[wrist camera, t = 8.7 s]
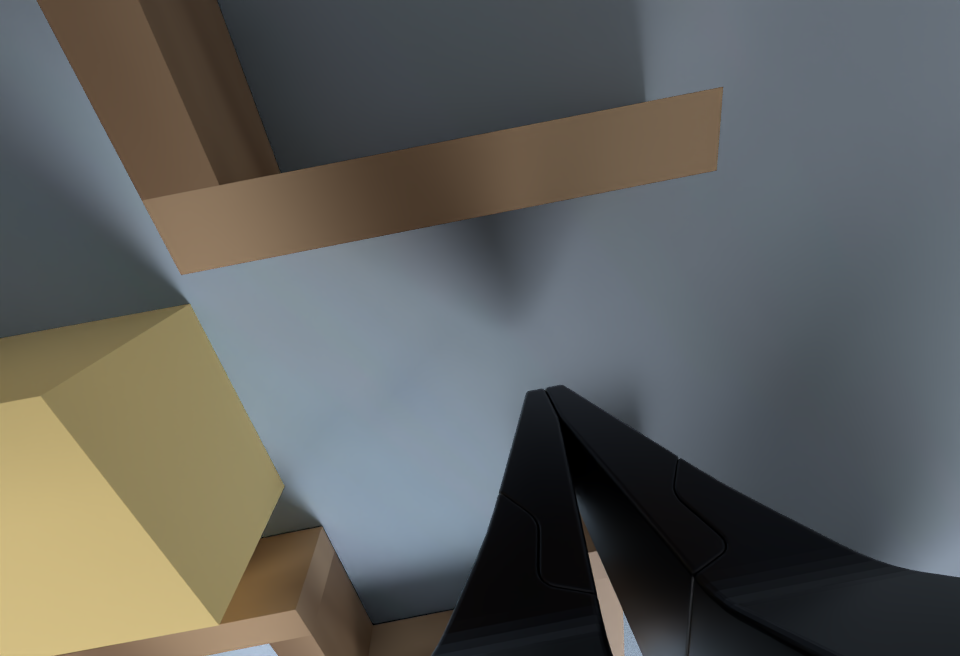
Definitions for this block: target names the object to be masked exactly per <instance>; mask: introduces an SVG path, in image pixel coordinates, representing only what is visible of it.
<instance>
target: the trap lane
mask: <svg viewBox="0 0 960 656" xmlns="http://www.w3.org/2000/svg"><path fill="white" fill-rule="evenodd" d="M37 2H38V4H39V6H40V8H41V10H42V11H43V13H44V15H45V17H46V19H47V21H48V23H49V25H50V27H51V29H52V30H53V32H54V34H55V36H56V38H57V40H58V42H59V44H60V46H61V48H62V49H63V51H64V53H65V55H66V57H67V59H68V61H69V63H70V65H71V67H72V68H73V70H74V72H75V74H76V76H77V78H78V80H79V82H80V84H81V86H82V87H83V89H84V91H85V93H86V95H87V97H88V99H89V101H90V103H91V105H92V106H93V108H94V110H95V112H96V114H97V116H98V118H99V120H100V122H101V124H102V125H103V127H104V129H105V131H106V133H107V135H108V137H109V139H110V141H111V143H112V144H113V146H114V148H115V150H116V152H117V154H118V156H119V158H120V160H121V162H122V163H123V165H124V167H125V169H126V171H127V173H128V175H129V177H130V179H131V181H132V182H133V184H134V186H135V188H136V190H137V192H138V194H139V196H140V198H141V200H142V201H143V203H144V205H145V207H146V209H147V211H148V213H149V215H150V217H151V219H152V221H153V222H154V224H155V226H156V228H157V230H158V232H159V234H160V236H161V238H162V240H163V241H164V243H165V245H166V247H167V249H168V251H169V253H170V255H171V257H172V259H173V260H174V262H175V264H176V266H177V268H178V270H179V272H180V274H181V275H184V274H189V273H194V272H199V271H204V270H209V269H214V268H220V267H225V266H230V265H235V264H240V263H245V262H250V261H255V260H261V259H266V258H271V257H276V256H281V255H286V254H291V253H296V252H302V251H307V250H312V249H317V248H322V247H327V246H332V245H337V244H342V243H348V242H353V241H358V240H363V239H368V238H373V237H378V236H383V235H389V234H394V233H399V232H404V231H409V230H414V229H419V228H424V227H430V226H435V225H440V224H445V223H450V222H455V221H460V220H465V219H471V218H476V217H481V216H486V215H491V214H496V213H501V212H506V211H511V210H517V209H522V208H527V207H532V206H537V205H542V204H547V203H552V202H558V201H563V200H568V199H573V198H578V197H583V196H588V195H593V194H599V193H604V192H609V191H614V190H619V189H624V188H629V187H634V186H639V185H645V184H650V183H655V182H660V181H665V180H670V179H675V178H680V177H686V176H691V175H696V174H701V173H706V172H711V171H716V170H717V159H718V146H719V134H720V121H721V108H722V95H723V87H720V88H715V89H710V90H704V91H699V92H694V93H689V94H684V95H679V96H674V97H669V98H663V99H658V100H653V101H648V102H643V103H638V104H633V105H628V106H623V107H617V108H612V109H607V110H602V111H597V112H592V113H587V114H582V115H577V116H571V117H566V118H561V119H556V120H551V121H546V122H541V123H536V124H530V125H525V126H520V127H515V128H510V129H505V130H500V131H495V132H490V133H484V134H479V135H474V136H469V137H464V138H459V139H454V140H449V141H444V142H438V143H433V144H428V145H423V146H418V147H413V148H408V149H403V150H398V151H392V152H387V153H382V154H377V155H372V156H367V157H362V158H357V159H352V160H346V161H341V162H336V163H331V164H326V165H321V166H316V167H311V168H305V169H300V170H295V171H290V172H285V173H280V170H279V167H278V165H277V162H276V159H275V157H274V154H273V151H272V148H271V146H270V143H269V140H268V138H267V135H266V132H265V130H264V127H263V124H262V121H261V119H260V116H259V113H258V111H257V108H256V105H255V102H254V100H253V97H252V94H251V92H250V89H249V86H248V83H247V81H246V78H245V75H244V73H243V70H242V67H241V65H240V62H239V59H238V56H237V54H236V51H235V48H234V46H233V43H232V40H231V37H230V35H229V32H228V29H227V27H226V24H225V21H224V18H223V16H222V13H221V10H220V8H219V5H218V2H217V0H37ZM580 516H581V514H580ZM581 521H582V526H583V530H584V535H585V540H586V544H587V549H588V553H589V558H590V563H591V567H592V572H593V577H594V581H595V586H596V591H597V597H598V600H599V604H600V609H601V613H602V618H603V622H604V626H605V630H606V634H607V637H608V641H609V644H610V647H611V651H612V654H613V656H624V629H623V609H622V607H621V605H620V602H619V600H618V598H617V596H616V593H615V591H614V589H613V586H612V584H611V582H610V580H609V577H608V575H607V573H606V571H605V568H604V566H603V564H602V562H601V559H600V557H599V555H598V552H597V550H596V548H595V546H594V543H593V541H592V539H591V537H590V534H589V532H588V530H587V527H586V525H585V523H584V521H583V518H582V516H581ZM453 611H454V610H450V611H445V612H439V613H434V614H429V615H424V616H419V617H414V618H409V619H403V620H398V621H393V622H388V623H383V624H378V625H372V623H371V621H370V619H369V617H368V615H367V613H366V611H365V609H364V607H363V605H362V603H361V601H360V599H359V597H358V595H357V593H356V591H355V589H354V587H353V586H352V584H351V582H350V580H349V578H348V576H347V574H346V572H345V570H344V568H343V566H342V564H341V562H340V560H339V558H338V556H337V554H336V552H335V550H334V548H333V546H332V545H331V543H330V541H329V539H328V537H327V535H326V533H325V531H324V529H323V527H317V528H312V529H307V530H302V531H296V532H291V533H286V534H281V535H276V536H271V537H266V538H260V540H259V542H258V544H257V546H256V548H255V550H254V552H253V555H252V557H251V559H250V561H249V563H248V565H247V567H246V569H245V571H244V574H243V576H242V578H241V580H240V582H239V584H238V586H237V588H236V591H235V593H234V595H233V597H232V599H231V601H230V603H229V605H228V607H227V610H226V612H225V614H224V616H223V618H222V620H221V622H220V624H219V625H218V626H213V627H207V628H202V629H197V630H191V631H186V632H180V633H175V634H169V635H164V636H158V637H153V638H148V639H142V640H137V641H131V642H126V643H120V644H115V645H109V646H104V647H99V648H93V649H88V650H82V651H77V652H71V653H66V654H60V655H55V656H207V655H212V654H217V653H222V652H227V651H232V650H237V649H243V648H248V647H253V646H258V645H263V644H268V643H269V644H270V645H271V647H272V648H273V649H274V651H275V652H276V653H277V655H278V656H431V655H432V653H433V651H434V650H435V648H436V646H437V645H438V643H439V641H440V639H441V637H442V635H443V633H444V631H445V629H446V626H447V624H448V622H449V620H450V618H451V615H452V613H453Z"/></svg>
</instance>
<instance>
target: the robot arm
mask: <svg viewBox="0 0 960 656" xmlns="http://www.w3.org/2000/svg"><path fill="white" fill-rule="evenodd" d="M580 514H581V516H582V518H583V521H584V523H585V525H586V527H587V530H588V532H589V534H590V537H591V539H592V541H593V543H594V546H595V548H596V550H597V552H598V555H599V557H600V559H601V562H602V564H603V566H604V568H605V571H606V573H607V575H608V577H609V580H610V582H611V584H612V586H613V589H614V591H615V593H616V596H617V598H618V600H619V602H620V605H621V607H622V609H623V611H624V614H625V616H626V618H627V621H628V623H629V625H630V627H631V630H632V632H633V634H634V636H635V639H636V641H637V643H638V646H639V648H640V650H641V652H642V655H643V656H960V577H953V576H947V575H940V574H933V573H926V572H920V571H914V570H909V569H905V568H901V567H897V566H893V565H890V564H887V563H884V562H881V561H878V560H875V559H873V558H870V557H868V556H865V555H863V554H860V553H858V552H856V551H854V550H852V549H849V548H847V547H845V546H843V545H841V544H839V543H837V542H835V541H833V540H831V539H829V538H827V537H825V536H823V535H822V534H820V533H818V532H816V531H814V530H812V529H810V528H808V527H806V526H804V525H802V524H800V523H798V522H796V521H794V520H792V519H790V518H788V517H786V516H784V515H782V514H780V513H778V512H776V511H774V510H773V509H771V508H769V507H767V506H765V505H763V504H761V503H759V502H757V501H755V500H753V499H751V498H749V497H747V496H746V495H744V494H742V493H740V492H738V491H736V490H734V489H733V488H731V487H729V486H727V485H725V484H723V483H722V482H720V481H718V480H716V479H715V478H713V477H711V476H710V475H708V474H706V473H705V472H703V471H701V470H699V469H698V468H696V467H695V466H693V465H691V464H690V463H688V462H686V461H685V460H683V459H681V458H680V459H678V456H677V455H675V454H673V453H672V452H670V451H668V450H667V449H665V448H664V447H662V446H660V445H659V444H657V443H656V442H654V441H652V440H651V439H649V438H648V437H646V436H644V435H643V434H641V433H639V432H638V431H636V430H635V429H633V428H631V427H630V426H628V425H627V424H625V423H623V422H622V421H620V420H619V419H617V418H615V417H614V416H612V415H610V414H609V413H607V412H606V411H604V410H602V409H601V408H599V407H598V406H596V405H594V404H593V403H591V402H590V401H588V400H586V399H585V398H583V397H581V396H580V395H578V394H577V393H575V392H573V391H572V390H570V389H569V388H567V387H565V386H564V385H557V386H552V387H548V388H546V389H545V390H544V389H537V390H532V391H528V392H527V393H526V396H525V400H524V403H523V407H522V411H521V414H520V418H519V421H518V425H517V429H516V432H515V436H514V440H513V443H512V447H511V451H510V454H509V458H508V462H507V465H506V469H505V472H504V476H503V480H502V483H501V487H500V491H499V495H498V497H497V501H496V504H495V508H494V511H493V515H492V518H491V521H490V524H489V527H488V530H487V533H486V536H485V538H484V541H483V543H482V546H481V548H480V551H479V553H478V556H477V558H476V561H475V563H474V565H473V567H472V570H471V572H470V574H469V576H468V579H467V581H466V583H465V586H464V588H463V590H462V592H461V595H460V597H459V599H458V602H457V604H456V606H455V608H454V611H453V613H452V615H451V618H450V620H449V622H448V624H447V626H446V629H445V631H444V633H443V635H442V637H441V639H440V641H439V643H438V645H437V646H436V648H435V650H434V651H433V653H432V655H431V656H613V654H612V651H611V647H610V644H609V641H608V637H607V634H606V630H605V626H604V622H603V618H602V613H601V609H600V604H599V600H598V597H597V591H596V586H595V581H594V577H593V572H592V567H591V563H590V558H589V553H588V549H587V544H586V540H585V535H584V530H583V526H582V521H581V516H580Z"/></svg>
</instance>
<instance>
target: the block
mask: <svg viewBox="0 0 960 656" xmlns="http://www.w3.org/2000/svg"><path fill="white" fill-rule="evenodd" d="M284 487H285V486H284V484H283V482H282V480H281V478H280V476H279V474H278V473H277V471H276V469H275V467H274V465H273V463H272V461H271V459H270V457H269V455H268V453H267V451H266V449H265V448H264V446H263V444H262V442H261V440H260V438H259V436H258V434H257V432H256V430H255V428H254V426H253V424H252V422H251V421H250V419H249V417H248V415H247V413H246V411H245V409H244V407H243V405H242V403H241V401H240V399H239V397H238V395H237V394H236V392H235V390H234V388H233V386H232V384H231V382H230V380H229V378H228V376H227V374H226V372H225V370H224V368H223V367H222V365H221V363H220V361H219V359H218V357H217V355H216V353H215V351H214V349H213V347H212V345H211V343H210V342H209V340H208V338H207V336H206V334H205V332H204V330H203V328H202V326H201V324H200V322H199V320H198V318H197V316H196V315H195V313H194V311H193V309H192V307H191V305H190V304H185V305H180V306H174V307H169V308H163V309H158V310H152V311H147V312H141V313H136V314H130V315H125V316H120V317H114V318H109V319H103V320H98V321H92V322H87V323H81V324H76V325H70V326H65V327H59V328H54V329H48V330H43V331H37V332H32V333H26V334H21V335H15V336H10V337H4V338H0V656H55V655H60V654H66V653H71V652H77V651H82V650H88V649H93V648H99V647H104V646H109V645H115V644H120V643H126V642H131V641H137V640H142V639H148V638H153V637H158V636H164V635H169V634H175V633H180V632H186V631H191V630H197V629H202V628H207V627H213V626H218V625H219V624H220V622H221V620H222V618H223V616H224V614H225V612H226V610H227V607H228V605H229V603H230V601H231V599H232V597H233V595H234V593H235V591H236V588H237V586H238V584H239V582H240V580H241V578H242V576H243V574H244V571H245V569H246V567H247V565H248V563H249V561H250V559H251V557H252V555H253V552H254V550H255V548H256V546H257V544H258V542H259V540H260V538H261V535H262V533H263V531H264V529H265V527H266V525H267V523H268V521H269V519H270V516H271V514H272V512H273V510H274V508H275V506H276V504H277V502H278V499H279V497H280V495H281V493H282V491H283V489H284Z"/></svg>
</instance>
